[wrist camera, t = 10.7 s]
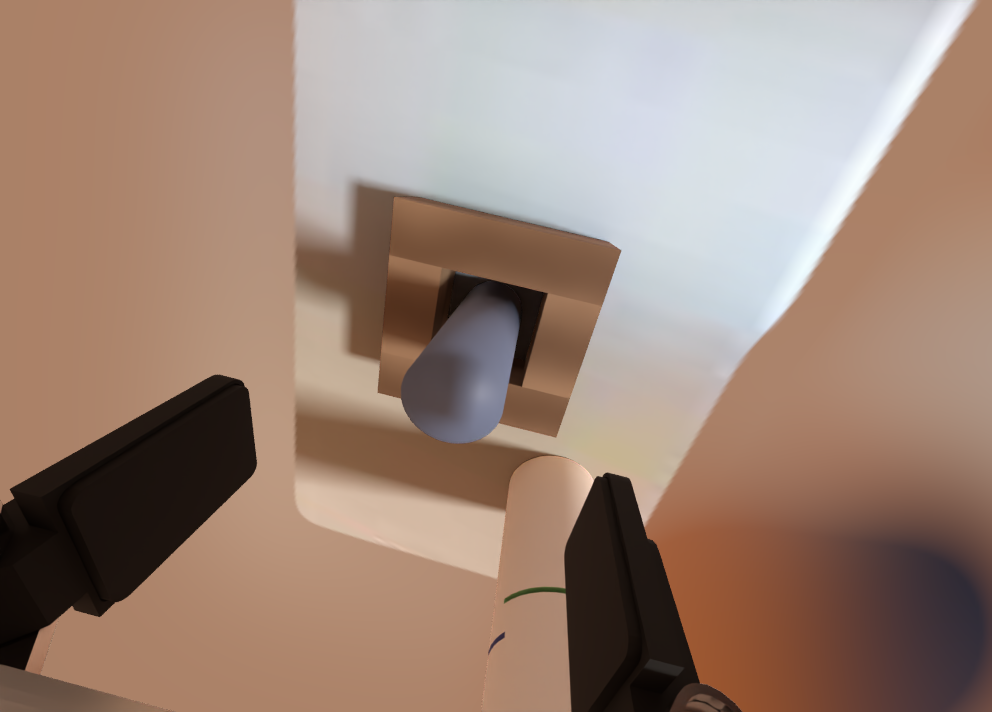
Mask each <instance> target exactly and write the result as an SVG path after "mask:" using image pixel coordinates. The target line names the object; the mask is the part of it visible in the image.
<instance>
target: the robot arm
mask: <svg viewBox="0 0 992 712" xmlns="http://www.w3.org/2000/svg"><path fill="white" fill-rule="evenodd" d="M256 466H257V460H256V451H255V443H254V435H253V425H252V417H251V408H250V399H249V391H248V389H247V388H246V387H245V386H244V383H243V382H242V381H241V380H238V379H234V378H230V377H227V376H223V375H213V376H211V377H209V378H207V379H205V380H204V381H202V382H200V383H198V384H196V385H195V386H193V387H191V388H189V389H188V390H186V391H184V392H182V393H180V394H179V395H177V396H176V397H173V398H171V399H170V400H168V401H166V402H164V403H163V404H161V405H159V406H157V407H155V408H154V409H152V410H150V411H148V412H147V413H145V414H143V415H141V416H139V417H138V418H136V419H134V420H132V421H130V422H129V423H127V424H125V425H123V426H121V427H120V428H118V429H116V430H114V431H113V432H111V433H109V434H107V435H105V436H104V437H102V438H100V439H98V440H96V441H95V442H93V443H91V444H89V445H88V446H86V447H84V448H82V449H80V450H79V451H77V452H75V453H73V454H72V455H70V456H68V457H66V458H64V459H63V460H61V461H59V462H57V463H56V464H54V465H52V466H50V467H48V468H46V469H45V470H43V471H41V472H39V473H38V474H36V475H34V476H32V477H30V478H29V479H27V480H25V481H23V482H22V483H20V484H18V485H16V486H14V487H13V488H11V489H10V491H11V493H12V494H13V496H14V498H15V499H13V500H11V501H10V502H8V503H6V504H4V505H3V504H2V502H1V500H0V712H174V711H170V710H167V709H163V708H159V707H156V706H152V705H148V704H145V703H141V702H138V701H134V700H130V699H126V698H123V697H119V696H116V695H112V694H108V693H104V692H101V691H97V690H93V689H89V688H86V687H82V686H79V685H75V684H71V683H67V682H64V681H60V680H57V679H53V678H49V677H46V676H42V675H40V674H41V671H42V668H43V665H44V661H45V659H46V656H47V653H48V650H49V647H50V644H51V641H52V637H53V635H54V631H55V629H56V625H57V622H58V619H59V617H60V616H61V615H62V614H63V613H64V612H65V611H67V610H68V609H69V608H70V607H71V606H73V607H74V610H76V611H79V612H83V613H87V614H90V615H94V616H98V617H100V616H102V615H103V614H104V613H105V612H106V611H107V610H108V609H109V608H110V607H111V606H112V605H113V604H114V603H115V602H119V601H122V600H123V599H125V598H126V597H128V596H129V595H130V594H131V593H132V592H133V591H134V590H135V589H136V588H137V587H138V586H139V585H140V584H142V582H144V581H145V580H146V579H147V578H148V577H149V576H150V575H151V574H152V573H153V572H154V571H155V570H156V569H157V568H158V567H159V566H160V565H161V564H162V563H163V562H164V561H165V560H166V559H167V558H168V557H169V556H170V555H171V554H172V553H173V552H174V551H175V550H176V549H177V548H178V547H179V546H180V545H181V544H183V543H184V541H186V539H188V538H189V537H190V536H191V535H192V534H193V533H194V532H195V531H196V530H197V529H198V528H199V527H200V526H201V525H202V524H203V523H204V522H205V521H206V520H207V519H208V518H209V517H210V516H211V515H212V514H213V513H214V512H215V511H216V510H217V509H218V508H219V507H220V506H222V505H223V503H225V502H226V501H227V500H228V499H229V498H230V497H231V496H232V495H233V494H234V493H235V492H236V491H237V490H238V489H239V488H240V487H241V486H242V485H243V484H244V483H245V482H246V481H247V480H248V479H249V478H250V477H251V476H252V475H253V473H254V471H255V469H256ZM564 568H565V589H566V610H567V632H568V653H569V674H570V696H571V712H742V711H741V710H740V708H739V707H738V706H737V705H736V704H735V703H734V702H733V701H732V700H730V699H729V698H728V697H727V696H726V695H724V694H723V693H722V692H720V691H718V690H717V689H715V688H713V687H711V686H709V685H706V684H700V682H699V679H698V676H697V672H696V669H695V666H694V662H693V659H692V656H691V653H690V649H689V646H688V643H687V640H686V637H685V633H684V630H683V627H682V624H681V621H680V617H679V614H678V611H677V608H676V604H675V601H674V598H673V595H672V591H671V588H670V585H669V582H668V579H667V575H666V572H665V569H664V566H663V562H662V559H661V556H660V553H659V550H658V548H657V545H656V544H655V543H654V542H653V540H650V539H647V536H646V532H645V529H644V525H643V522H642V518H641V515H640V511H639V508H638V504H637V501H636V497H635V494H634V490H633V487H632V484H631V481H630V479H629V478H627V477H623V476H619V475H615V474H611V473H605V474H604V475H603V477H599V476H597V477H596V478H595V480H594V482H593V485H592V487H591V489H590V491H589V494H588V496H587V498H586V500H585V503H584V505H583V507H582V509H581V511H580V514H579V516H578V518H577V520H576V523H575V525H574V527H573V529H572V532H571V534H570V536H569V538H568V541H567V543H566V546H565V552H564Z"/></svg>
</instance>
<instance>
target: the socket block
mask: <svg viewBox="0 0 992 712" xmlns="http://www.w3.org/2000/svg"><path fill="white" fill-rule="evenodd" d="M620 253H621V250H620V249H618V248H617V247H615V246H614V245H612V244H611V243H609V242H607V241H602V240H598V239H594V238H590V237H585V236H581V235H577V234H573V233H569V232H564V231H560V230H556V229H552V228H547V227H543V226H539V225H535V224H530V223H526V222H522V221H518V220H513V219H509V218H505V217H501V216H496V215H492V214H488V213H484V212H479V211H475V210H471V209H467V208H463V207H458V206H454V205H450V204H446V203H441V202H437V201H433V200H429V199H424V198H420V197H394V203H393V215H392V227H391V239H390V251H389V263H388V275H387V287H386V299H385V311H384V323H383V335H382V347H381V359H380V370H379V382H378V393H381V394H385V395H389V396H393V397H397V398H401V385H402V381H403V378H404V376H405V374H406V372H407V370H408V369H409V368H410V367H411V365H412V364H413V363H414V362H415V360H416V359H417V358H418V357H419V355H420V354H421V353H422V351H423V350H424V349H425V348H426V346H427V345H428V344H429V343H430V341H431V340H432V339H433V338H434V336H435V335H436V334H437V333H438V331H439V330H440V329H441V328H442V326H443V325H444V324H445V323H446V321H447V319H448V313H449V307H450V301H451V295H452V289H453V283H454V276H455V271H458V272H462V273H466V274H470V275H474V276H479V277H483V278H487V279H491V280H495V281H499V282H504V283H508V284H512V285H516V286H520V287H524V288H528V289H533V290H537V291H541V292H544V293H543V297H542V301H541V304H540V308H539V311H538V315H537V319H536V322H535V326H534V330H533V333H532V337H531V341H530V344H529V348H528V352H527V355H526V359H525V360H522V359H518V358H513V363H512V368H511V373H510V378H509V383H508V388H507V394H506V399H505V404H504V409H503V414H502V417H501V419H500V421H499V423H501V424H505V425H509V426H513V427H517V428H520V429H524V430H528V431H532V432H536V433H540V434H544V435H548V436H552V437H556V436H557V433H558V431H559V428H560V425H561V422H562V419H563V416H564V413H565V411H566V408H567V405H568V402H569V399H570V396H571V393H572V390H573V388H574V385H575V382H576V379H577V376H578V373H579V370H580V367H581V365H582V362H583V359H584V356H585V353H586V350H587V347H588V345H589V342H590V339H591V336H592V333H593V330H594V327H595V324H596V322H597V319H598V316H599V313H600V310H601V307H602V304H603V302H604V299H605V296H606V293H607V290H608V287H609V284H610V281H611V279H612V276H613V273H614V270H615V267H616V264H617V261H618V259H619V256H620Z"/></svg>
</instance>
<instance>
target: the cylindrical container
mask: <svg viewBox="0 0 992 712" xmlns="http://www.w3.org/2000/svg"><path fill="white" fill-rule="evenodd" d="M593 482H594V481H593V479H592V476H591V475H590V474H589V472H588V471H587V470H586V469H585V468H584V467H583V466H581V465H580V464H578V463H577V462H575V461H573V460H570V459H568V458H564V457H560V456H540V457H536V458H533V459H530V460H528V461H526V462H524V463H523V464H521V465H520V466H519V467H518V468H517V469H516V470H515V471H514V473H513V475H512V476H511V479H510V483H509V491H508V499H507V507H506V515H505V524H504V532H503V540H502V548H501V556H500V564H499V572H498V580H497V588H496V596H495V604H494V613H493V621H492V628H491V636H490V645H489V652H488V653H489V656H488V661H487V668H486V677H485V685H484V694H483V701H482V710H481V712H571V696H570V674H569V653H568V632H567V610H566V589H565V568H564V552H565V546H566V543H567V541H568V538H569V536H570V534H571V532H572V529H573V527H574V525H575V523H576V520H577V518H578V516H579V514H580V511H581V509H582V507H583V505H584V503H585V500H586V498H587V496H588V494H589V491H590V489H591V487H592V485H593Z"/></svg>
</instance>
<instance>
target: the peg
mask: <svg viewBox="0 0 992 712" xmlns="http://www.w3.org/2000/svg"><path fill="white" fill-rule="evenodd" d="M521 317H522V305H521V301H520V299H519V297H518V295H517V294H516V292H515V291H514V290H513V289H512V288H510V287H509V286H507V285H505V284H503V283H500V282H495V281H489V282H484V283H481V284H479V285H477V286H476V287H474V288H473V289H472V290H471V291H470V292H469V294H468V295H467V296H466V297H465V299H464V300H463V301H462V302H461V304H460V305H459V306H458V307H457V309H456V310H455V311H454V312H453V314H452V315H451V316H450V317H449V319H448V320H447V321H446V323H445V324H444V325H443V326H442V328H441V329H440V330H439V331H438V333H437V334H436V335H435V336H434V338H433V339H432V340H431V341H430V343H429V344H428V345H427V346H426V348H425V349H424V350H423V351H422V353H421V354H420V355H419V357H418V358H417V359H416V360H415V362H414V363H413V364H412V365H411V367H410V368H409V369H408V370H407V372H406V374H405V376H404V378H403V381H402V385H401V400H402V404H403V407H404V409H405V412H406V413H407V415H408V417H409V418H410V420H411V421H412V422H413V423H414V424H415V425H416V426H417V427H418V428H419V429H420V430H421V431H423V432H424V433H425V434H427V435H429V436H431V437H433V438H435V439H437V440H440V441H443V442H448V443H469V442H473V441H476V440H479V439H481V438H483V437H485V436H486V435H488V434H489V433H490V432H491V431H492V430H493V429H494V428H495V427H496V426H497V424H498V423H499V421H500V419H501V417H502V414H503V409H504V404H505V399H506V394H507V388H508V383H509V378H510V373H511V368H512V363H513V358H514V353H515V347H516V342H517V337H518V332H519V327H520V322H521Z"/></svg>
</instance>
